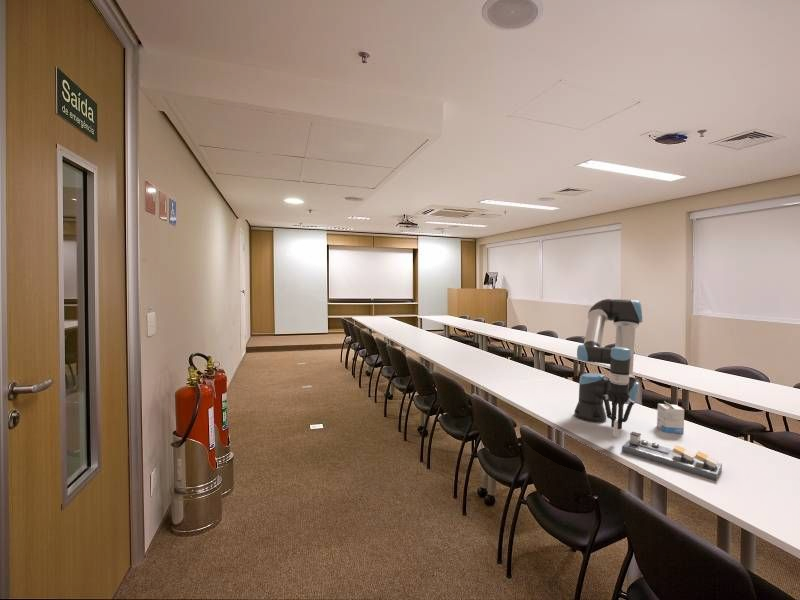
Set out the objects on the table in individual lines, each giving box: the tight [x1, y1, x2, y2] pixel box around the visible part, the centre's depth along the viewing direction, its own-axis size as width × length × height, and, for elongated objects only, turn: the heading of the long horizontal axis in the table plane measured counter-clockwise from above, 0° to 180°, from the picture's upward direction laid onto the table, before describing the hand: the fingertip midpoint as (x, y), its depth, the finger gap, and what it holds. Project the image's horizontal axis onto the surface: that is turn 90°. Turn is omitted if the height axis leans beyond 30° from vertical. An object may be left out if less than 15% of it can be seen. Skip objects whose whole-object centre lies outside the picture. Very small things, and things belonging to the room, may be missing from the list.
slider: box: [629, 431, 642, 445], centre depth 163 cm, size 3×3×4 cm
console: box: [621, 439, 723, 482], centre depth 154 cm, size 31×13×4 cm, turn 43°
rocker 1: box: [672, 444, 696, 461], centre depth 151 cm, size 6×6×2 cm
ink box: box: [656, 400, 685, 434], centre depth 187 cm, size 9×8×13 cm
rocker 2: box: [695, 450, 719, 468], centre depth 146 cm, size 6×6×2 cm
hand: (616, 435), depth 169 cm, fingers closed
